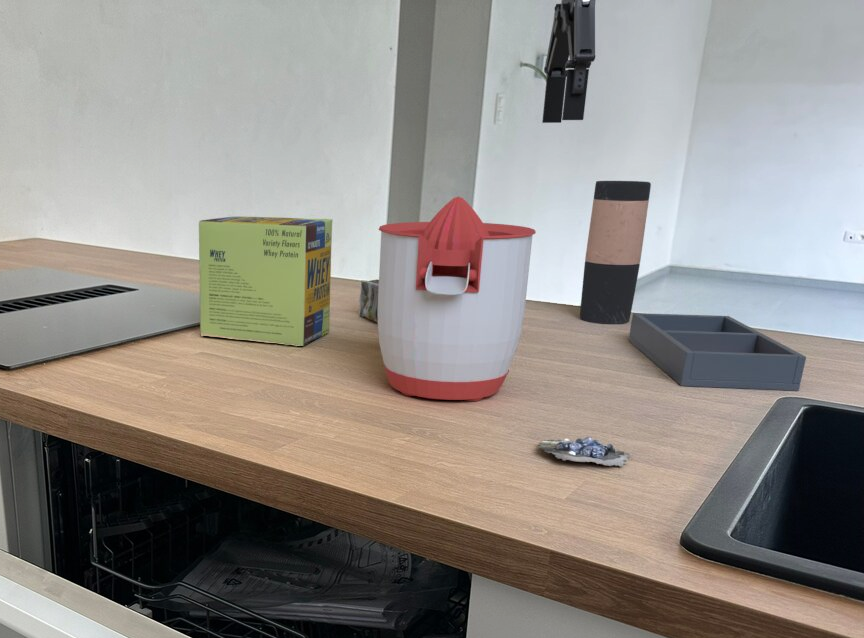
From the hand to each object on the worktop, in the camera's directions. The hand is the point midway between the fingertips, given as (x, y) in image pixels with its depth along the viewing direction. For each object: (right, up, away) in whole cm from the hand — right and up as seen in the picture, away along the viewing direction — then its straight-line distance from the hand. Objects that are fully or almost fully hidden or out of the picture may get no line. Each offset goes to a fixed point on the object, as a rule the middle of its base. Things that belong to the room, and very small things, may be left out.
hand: (561, 121), depth 126 cm
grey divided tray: (+10, -38, -22) cm, 45 cm away
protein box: (-44, -33, -8) cm, 55 cm away
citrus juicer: (-25, -42, -34) cm, 60 cm away
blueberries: (-17, -49, -53) cm, 74 cm away
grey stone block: (-22, -30, -1) cm, 38 cm away
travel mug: (+8, -29, +4) cm, 30 cm away
